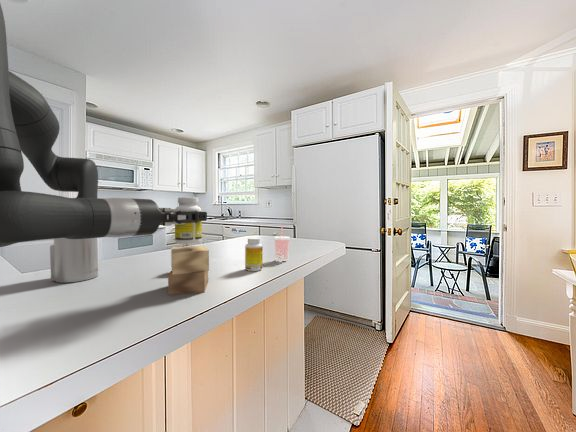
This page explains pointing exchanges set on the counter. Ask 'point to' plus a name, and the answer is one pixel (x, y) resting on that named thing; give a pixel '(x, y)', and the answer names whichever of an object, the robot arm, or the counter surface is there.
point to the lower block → (187, 282)
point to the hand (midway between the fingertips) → (196, 215)
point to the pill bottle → (188, 231)
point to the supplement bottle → (253, 254)
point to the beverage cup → (281, 246)
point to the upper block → (189, 259)
